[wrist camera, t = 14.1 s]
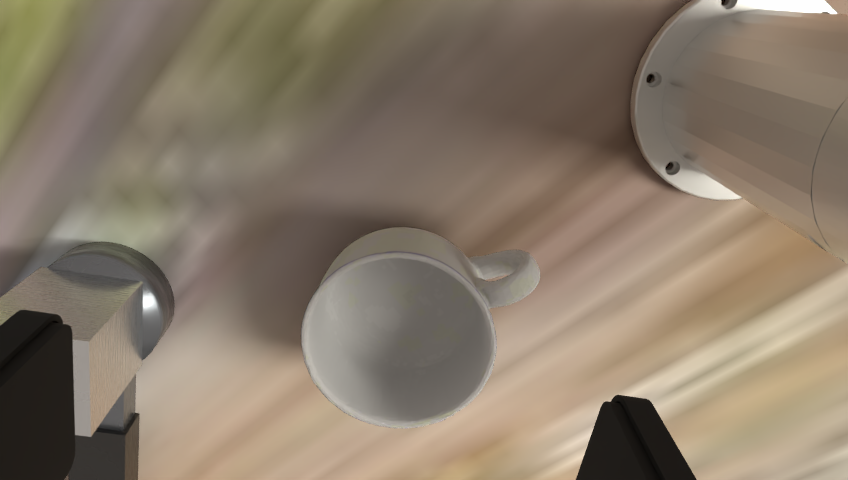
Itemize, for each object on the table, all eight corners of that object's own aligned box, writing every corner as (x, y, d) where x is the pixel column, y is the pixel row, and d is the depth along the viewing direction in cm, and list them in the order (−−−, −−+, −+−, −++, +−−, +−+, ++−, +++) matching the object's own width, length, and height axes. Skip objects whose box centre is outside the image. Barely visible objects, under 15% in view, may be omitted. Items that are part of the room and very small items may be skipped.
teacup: (350, 371, 44) (338, 449, 37) (294, 233, 40) (268, 289, 33) (545, 319, 43) (573, 388, 35) (506, 171, 39) (529, 214, 31)
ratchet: (165, 502, 48) (136, 564, 43) (56, 489, 47) (14, 550, 42) (177, 252, 40) (143, 291, 35) (47, 232, 40) (-6, 268, 35)
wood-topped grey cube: (143, 281, 38) (89, 341, 32) (142, 364, 40) (90, 437, 34) (40, 266, 38) (-36, 324, 31) (45, 351, 40) (-26, 422, 33)
